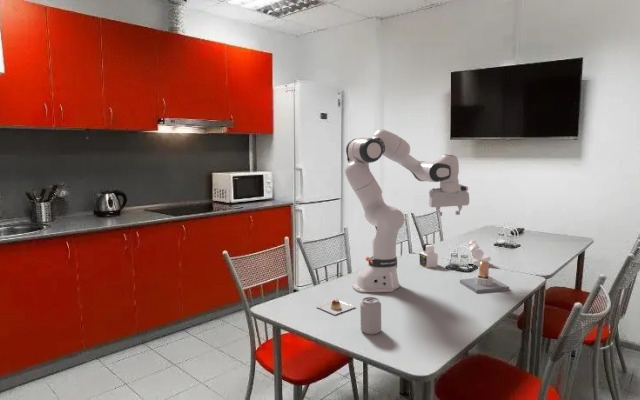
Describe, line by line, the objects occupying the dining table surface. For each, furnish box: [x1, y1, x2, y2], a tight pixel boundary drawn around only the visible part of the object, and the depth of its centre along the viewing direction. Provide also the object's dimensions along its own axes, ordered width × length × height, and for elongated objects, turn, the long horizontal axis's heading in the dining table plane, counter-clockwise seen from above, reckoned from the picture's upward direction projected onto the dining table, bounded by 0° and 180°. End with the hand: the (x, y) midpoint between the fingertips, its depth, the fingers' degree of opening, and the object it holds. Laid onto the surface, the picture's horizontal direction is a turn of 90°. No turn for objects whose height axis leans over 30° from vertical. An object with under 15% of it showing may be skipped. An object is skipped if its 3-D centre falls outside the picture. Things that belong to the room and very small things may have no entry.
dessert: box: [315, 298, 357, 316], centre depth 176 cm, size 12×12×5 cm
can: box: [359, 296, 382, 336], centre depth 152 cm, size 8×8×12 cm
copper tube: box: [478, 261, 490, 279], centre depth 196 cm, size 4×4×10 cm
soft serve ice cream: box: [467, 239, 492, 267], centre depth 233 cm, size 12×15×14 cm
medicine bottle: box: [419, 243, 439, 269], centre depth 231 cm, size 7×7×12 cm
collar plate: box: [459, 274, 510, 294], centre depth 196 cm, size 16×15×4 cm
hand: (448, 215), depth 210 cm, fingers open, 8 cm apart
